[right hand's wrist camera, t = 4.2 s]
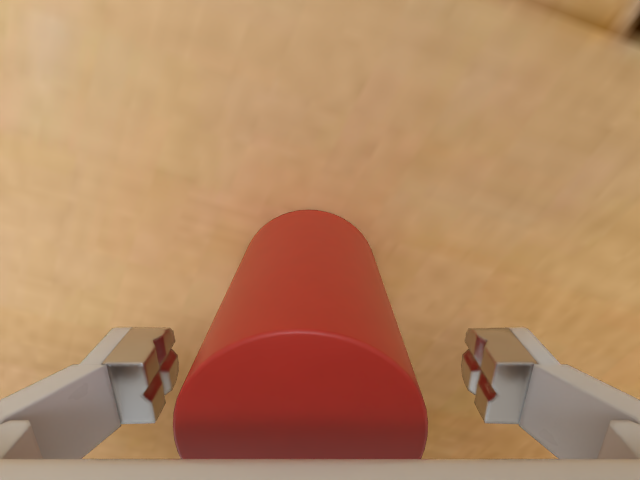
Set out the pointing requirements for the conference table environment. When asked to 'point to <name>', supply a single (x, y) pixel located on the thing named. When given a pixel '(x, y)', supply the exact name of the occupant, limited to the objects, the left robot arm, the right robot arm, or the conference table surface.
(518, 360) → the right robot arm
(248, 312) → the canister
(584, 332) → the conference table surface
